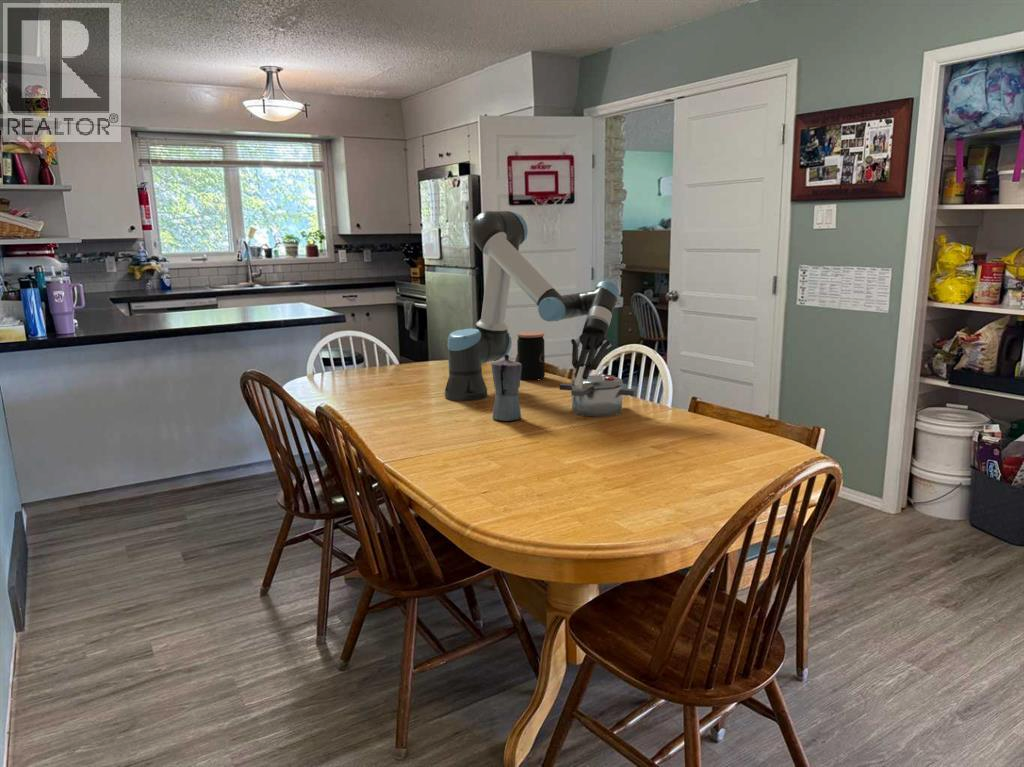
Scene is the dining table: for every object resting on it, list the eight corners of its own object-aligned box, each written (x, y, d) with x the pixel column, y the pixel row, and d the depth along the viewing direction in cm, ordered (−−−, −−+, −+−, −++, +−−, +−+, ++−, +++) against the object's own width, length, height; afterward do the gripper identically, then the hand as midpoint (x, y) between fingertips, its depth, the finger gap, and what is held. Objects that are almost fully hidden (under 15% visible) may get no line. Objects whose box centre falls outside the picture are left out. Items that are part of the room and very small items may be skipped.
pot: (551, 412, 222) (550, 386, 220) (572, 400, 237) (572, 375, 236) (626, 420, 210) (626, 393, 208) (644, 407, 226) (644, 381, 224)
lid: (552, 393, 210) (552, 387, 210) (584, 377, 233) (584, 371, 232) (602, 398, 203) (602, 391, 202) (630, 380, 226) (630, 374, 225)
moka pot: (524, 412, 222) (523, 351, 218) (520, 425, 207) (519, 359, 203) (495, 412, 223) (493, 351, 219) (489, 425, 208) (487, 360, 204)
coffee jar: (545, 380, 270) (544, 335, 267) (517, 381, 271) (516, 335, 267) (544, 375, 281) (543, 331, 277) (518, 375, 281) (517, 331, 277)
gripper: (619, 332, 217) (601, 395, 206) (580, 331, 223) (561, 392, 212) (614, 317, 211) (595, 381, 200) (574, 316, 217) (553, 378, 206)
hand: (577, 387), depth 206 cm, fingers closed
